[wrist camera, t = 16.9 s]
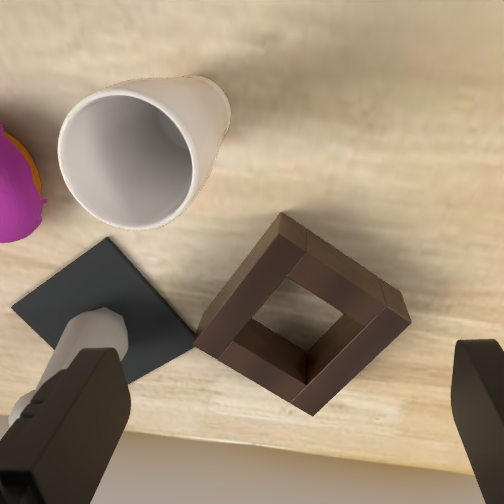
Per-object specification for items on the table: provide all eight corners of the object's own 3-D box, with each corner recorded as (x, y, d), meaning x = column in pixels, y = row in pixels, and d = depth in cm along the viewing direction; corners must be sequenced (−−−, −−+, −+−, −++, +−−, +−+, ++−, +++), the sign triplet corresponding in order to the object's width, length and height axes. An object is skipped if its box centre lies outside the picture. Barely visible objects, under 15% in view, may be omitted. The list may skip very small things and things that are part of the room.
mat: (13, 305, 44) (10, 307, 44) (107, 236, 40) (105, 238, 39) (105, 394, 48) (103, 398, 47) (201, 341, 43) (200, 344, 43)
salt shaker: (137, 354, 44) (77, 469, 33) (80, 347, 45) (0, 458, 33) (134, 302, 42) (67, 408, 30) (73, 296, 42) (-16, 397, 30)
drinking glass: (253, 80, 33) (216, 115, 19) (228, 168, 36) (181, 251, 22) (162, 50, 33) (61, 64, 19) (145, 141, 36) (47, 209, 22)
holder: (202, 314, 42) (191, 344, 38) (281, 211, 37) (278, 233, 33) (312, 381, 44) (312, 417, 40) (401, 292, 39) (412, 322, 35)
